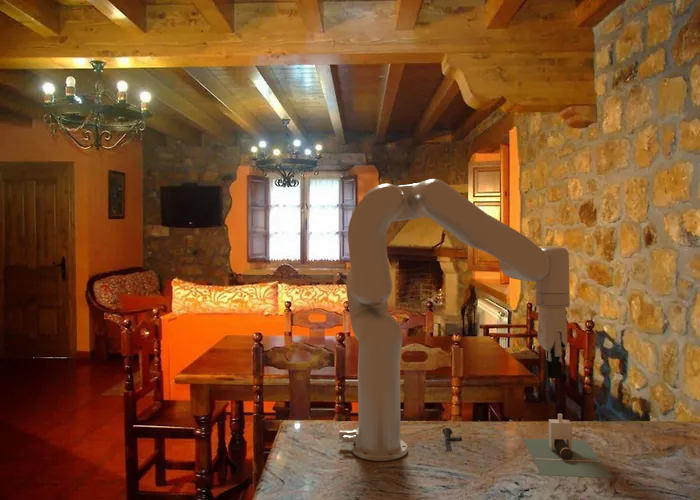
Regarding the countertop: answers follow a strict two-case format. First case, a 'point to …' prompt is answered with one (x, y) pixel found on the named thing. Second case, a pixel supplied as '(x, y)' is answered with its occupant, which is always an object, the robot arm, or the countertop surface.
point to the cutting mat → (578, 466)
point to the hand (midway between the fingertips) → (553, 377)
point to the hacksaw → (447, 439)
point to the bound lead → (563, 449)
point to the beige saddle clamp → (560, 431)
